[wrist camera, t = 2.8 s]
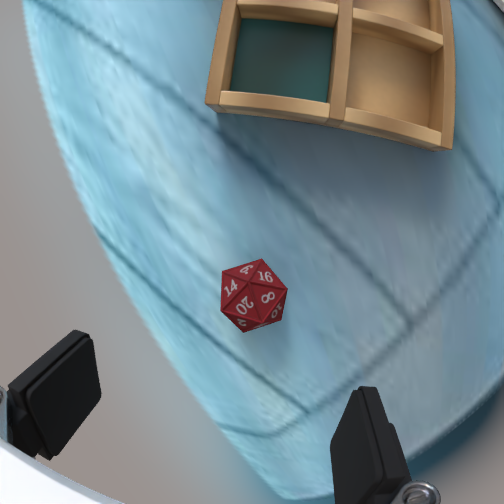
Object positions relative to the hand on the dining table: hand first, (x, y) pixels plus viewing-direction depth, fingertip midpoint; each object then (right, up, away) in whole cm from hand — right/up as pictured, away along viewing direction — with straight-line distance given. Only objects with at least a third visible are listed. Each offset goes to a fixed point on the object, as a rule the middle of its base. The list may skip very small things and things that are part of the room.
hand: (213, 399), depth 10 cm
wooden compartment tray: (+7, +19, +5) cm, 21 cm away
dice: (+2, +3, +10) cm, 11 cm away
